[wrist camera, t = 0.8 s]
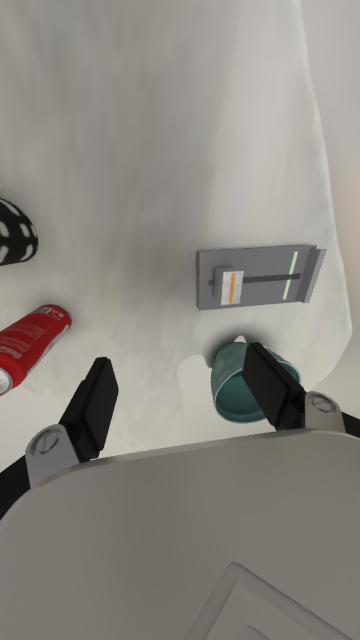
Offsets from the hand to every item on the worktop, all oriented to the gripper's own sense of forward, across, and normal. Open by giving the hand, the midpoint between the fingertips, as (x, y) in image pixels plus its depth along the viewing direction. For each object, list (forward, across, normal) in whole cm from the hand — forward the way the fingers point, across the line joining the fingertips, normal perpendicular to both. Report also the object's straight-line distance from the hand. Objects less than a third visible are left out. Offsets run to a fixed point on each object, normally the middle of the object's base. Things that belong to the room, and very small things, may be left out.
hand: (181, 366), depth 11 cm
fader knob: (+18, -9, -1) cm, 21 cm away
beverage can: (+21, +20, +4) cm, 30 cm away
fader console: (+21, -15, -1) cm, 26 cm away
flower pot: (+21, -15, +18) cm, 31 cm away
